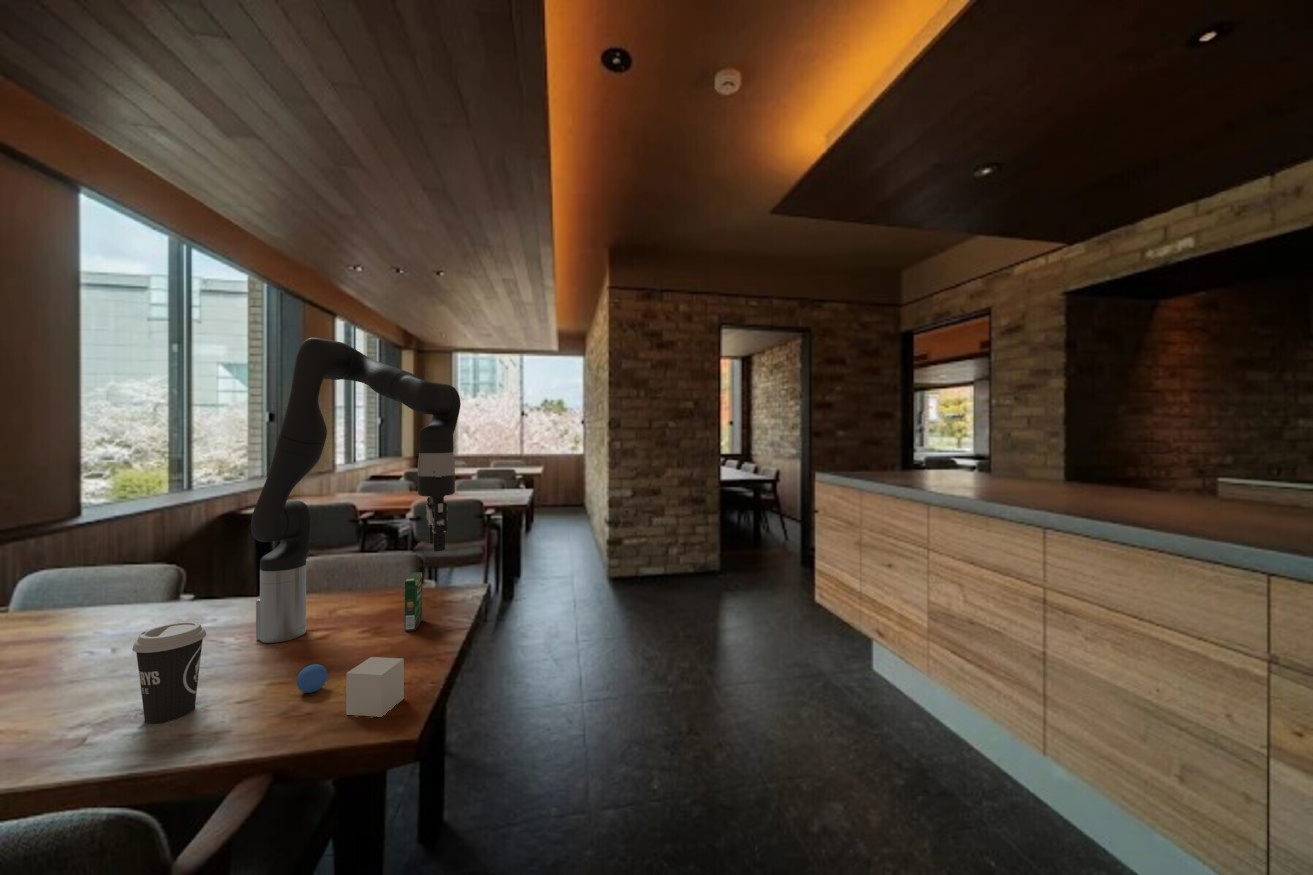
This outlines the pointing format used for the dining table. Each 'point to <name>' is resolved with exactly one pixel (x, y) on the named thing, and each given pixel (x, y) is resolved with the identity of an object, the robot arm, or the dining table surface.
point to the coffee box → (413, 601)
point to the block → (375, 686)
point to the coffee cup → (169, 669)
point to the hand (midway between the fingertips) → (436, 546)
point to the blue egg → (312, 678)
